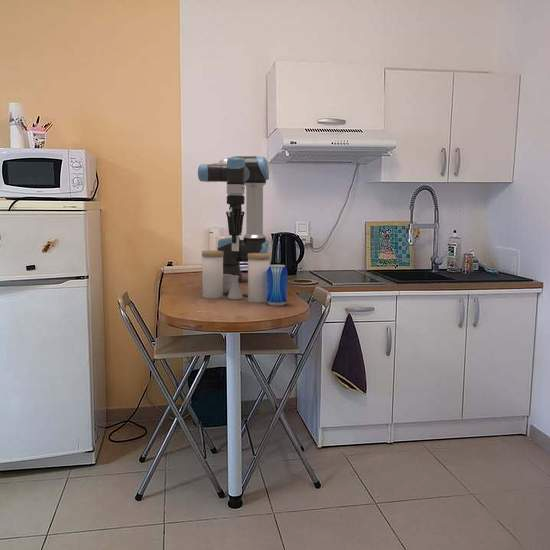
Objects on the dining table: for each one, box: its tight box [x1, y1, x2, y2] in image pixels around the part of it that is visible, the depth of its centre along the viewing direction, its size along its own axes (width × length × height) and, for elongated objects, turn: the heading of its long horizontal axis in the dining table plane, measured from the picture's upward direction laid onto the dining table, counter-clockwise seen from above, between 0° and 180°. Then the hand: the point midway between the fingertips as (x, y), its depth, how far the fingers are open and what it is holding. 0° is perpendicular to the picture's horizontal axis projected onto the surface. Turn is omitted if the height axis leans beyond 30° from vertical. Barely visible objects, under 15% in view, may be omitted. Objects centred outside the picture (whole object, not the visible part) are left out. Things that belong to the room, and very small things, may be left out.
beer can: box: [266, 264, 288, 307], centre depth 222 cm, size 8×8×16 cm
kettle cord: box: [223, 292, 248, 298], centre depth 241 cm, size 25×1×1 cm, turn 67°
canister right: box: [247, 252, 271, 304], centre depth 229 cm, size 9×9×20 cm
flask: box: [226, 275, 244, 301], centre depth 234 cm, size 7×7×10 cm
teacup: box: [223, 274, 233, 293], centre depth 252 cm, size 14×11×8 cm
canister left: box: [201, 250, 224, 300], centre depth 237 cm, size 9×9×20 cm
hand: (235, 250), depth 232 cm, fingers closed
